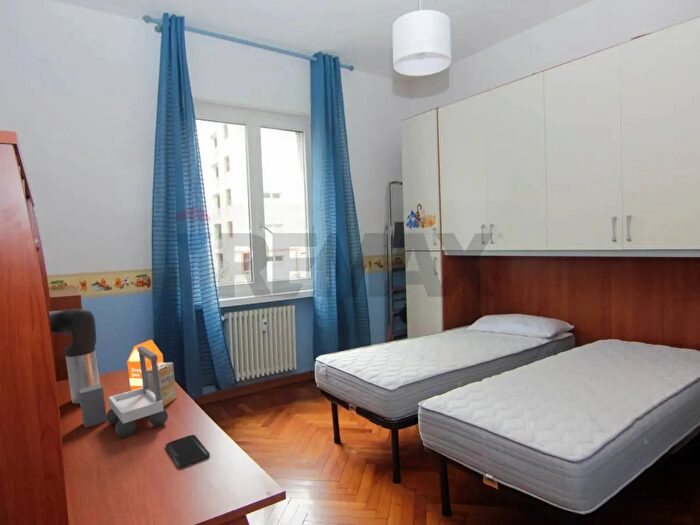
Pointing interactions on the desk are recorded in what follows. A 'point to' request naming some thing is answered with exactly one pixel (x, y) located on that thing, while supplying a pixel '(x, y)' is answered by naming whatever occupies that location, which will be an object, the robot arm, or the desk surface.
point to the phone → (187, 451)
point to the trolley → (138, 401)
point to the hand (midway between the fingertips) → (45, 407)
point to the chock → (92, 405)
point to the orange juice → (135, 366)
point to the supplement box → (164, 382)
